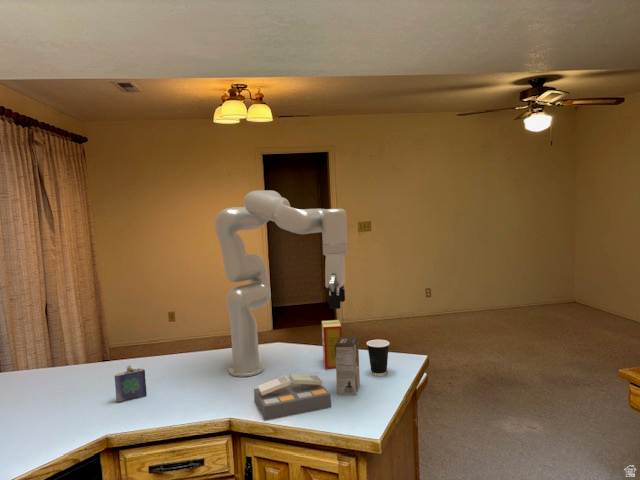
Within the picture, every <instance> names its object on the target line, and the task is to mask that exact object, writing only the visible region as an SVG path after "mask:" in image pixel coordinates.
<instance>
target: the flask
mask: <svg viewBox="0 0 640 480" xmlns="http://www.w3.org/2000/svg"><path fill="white" fill-rule="evenodd" d="M146 381H147V380H146V370H145V369H144V368H141V367H140V368H139V367H136V368H133V367H132V366H131V365H128V366H126V371H123V372H119V373H116V374H115V375H114V387H115V401H116V403H124V402H128V401H133V400H135V399H136V400H137V399H141V398H145V397H147V393H148V392H147V382H146Z"/></svg>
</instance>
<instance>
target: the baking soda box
mask: <svg viewBox="0 0 640 480" xmlns="http://www.w3.org/2000/svg"><path fill="white" fill-rule="evenodd" d="M342 328H343V327H342V325H341V322H340V320H339V319H331V320H330V319H329V320H328V319H327V320H321V337H322V338H321V340H322V341H321V342H322V361H323V365H324V370H336V357H335V344H336V343H337V341H338V339H339V337H343V332H342V331H343V330H342Z"/></svg>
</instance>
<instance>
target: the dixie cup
mask: <svg viewBox="0 0 640 480" xmlns="http://www.w3.org/2000/svg"><path fill="white" fill-rule="evenodd" d="M390 344H391V343H390V342H389V341H388V340H385V339H372V340H368V341H366V345H367V352H368V359H369V364H370V371H371V375H373V376H374V377H375V376H376V377H382V376H386V373H387V370H388V359H389V346H390Z"/></svg>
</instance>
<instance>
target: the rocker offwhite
mask: <svg viewBox="0 0 640 480" xmlns="http://www.w3.org/2000/svg"><path fill="white" fill-rule="evenodd" d="M290 384H291V380H290V379H289V378H288V376H287V375H282V376H279V377H277V378H274V379H272V380H269V381H266V382H264V383H261V384H259V385H257V388H258V390H259V391H260V393H261V395H262V396H263V395H265V394H268V393H270V392H273V391H275V390H278V389H280V388H283V387H285V386H288V385H290Z"/></svg>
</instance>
